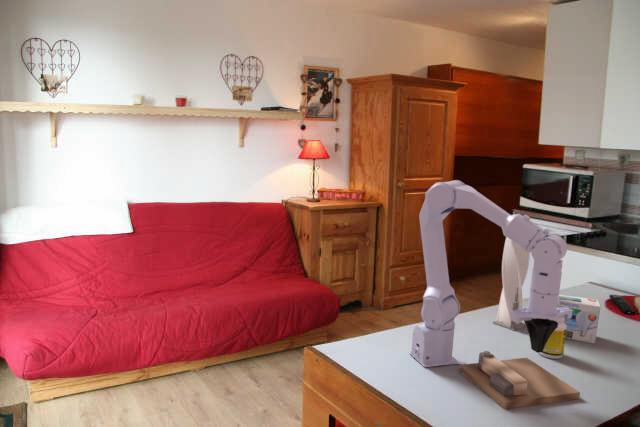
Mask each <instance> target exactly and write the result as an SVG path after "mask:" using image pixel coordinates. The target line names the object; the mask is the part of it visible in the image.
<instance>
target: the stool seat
mask: <svg viewBox="0 0 640 427" xmlns="http://www.w3.org/2000/svg"><path fill="white" fill-rule="evenodd" d="M500 361H501V362H503V363H504V364H505V365H507V366H508V367H509V368H511V369H512V370H514V371H515V372H516V373H518V374H519V375H520V376H522V377H523V378H524V379H526V380H527V381H528V382H527V390H526V394H523V395H515V396H514V395H512V394H513V384H512V383H511V382H509V381H508V380H507V379H505V378H504V377H503V376H501V375H500V374H491V377H490V376H489V375H488V374H487V373H485V372H484V371H483V370H481V369H480V368H479V367H478V362H476V363H464V364H459V369H458V371H459V372H460V373H461V374H462V375H463V376H464V377H466V378H467V379H468V380H469V381H470V382H472V383H473V384H474V385H475V386H476V387H478V388H479V389H480V390H481V391H482V392H484V394H486V395H487V396H488V397H490V398H491V399H492V400H493V401H494V402H495V403H497V404H498V405H499V406H500V407H501V408H502V409H503V410H508V409H515V408H516V409H517V408H522V407H523V408H524V407H529V406H537V405H543V404H551V403H559V402H564V401H573V400H579V399H580V393H581V392H580V391H579V390H577V389H575V387H572V385H570V384H569V383H566V382H565V381H564V380H563V379H560V378H559V377H558V376H556V375H554V373H553V374H552V373H551V372H550V371H549V370H547V369H545V368H543V367H542V366H540V364H537V362H534V361H533V360H531V359H530V358H528V357H521V358H512V359H503V360H500Z"/></svg>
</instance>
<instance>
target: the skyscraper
mask: <svg viewBox="0 0 640 427" xmlns="http://www.w3.org/2000/svg"><path fill="white" fill-rule="evenodd" d="M530 259H531V252H528V251H527V250H525V249H524V248H522V247H521V246H519V245H518V244H516V243H515V242H513V241H512V240H510V239H509V238H507V237H506V236H505V241H504V246H503V252H502V260H501V280H502V282H501V283H502V289H501V293H500V299H499V303H498V308H497V309H498V310H497V313H496V319H495V320H494V321H492V324H494V325H496V326H499V327H501V328H506V329H507V330H511V331H513V332H515V331H517V330H521V329H522V328H525V327H526V324H525V322H523V321H519V322H518V323H515V322H514V321H512V320H510V313H511V311H514V310H518V309H522V308H523V285H524V283H525V280H526V278H527V275H528V270H529V266H530Z"/></svg>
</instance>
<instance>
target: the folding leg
mask: <svg viewBox="0 0 640 427" xmlns="http://www.w3.org/2000/svg"><path fill="white" fill-rule="evenodd" d="M477 363H478V367H479V368H480V369H481V370H483V371H484V372H485V373H487V374H488V375H489V376H490V377H491V374H500V375H501V376H503V377H504V378H505V379H507V380H508V381H509V382H511V383H512V384H513V394H512V395H514V396H515V395H523V394H526V390H527V382H528V381H527V380H526V379H524V378H523V377H522V376H520V375H519V374H518V373H516V372H515V371H514V370H512V369H511V368H509V367H508V366H507V365H505V364H504V363H503V362H501V360H500V359H499V358H498V357H496V356H495V355H494V354H493V353H491V351H489V350H484V351H481V352H479V354H478V362H477Z"/></svg>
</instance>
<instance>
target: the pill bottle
mask: <svg viewBox="0 0 640 427" xmlns="http://www.w3.org/2000/svg"><path fill="white" fill-rule="evenodd" d="M564 320H565V318H558V320H554V321H556V322H557V323H558V327H557V328H556V329H555V330H554V332H553V333H552V334H551V336H550V337H549V339H548V341H547V343H546V345H545V347H544V349H543V352H539V353H538V354H539V355H540V356H542V357H545V358H549V359H555V360H557V359H561V358H562V357H563V356H564V352H565V344H566V343H565V342H566V338H565V337H566V330H567V326H566V324H565V323H564V322H563V321H564Z"/></svg>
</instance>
